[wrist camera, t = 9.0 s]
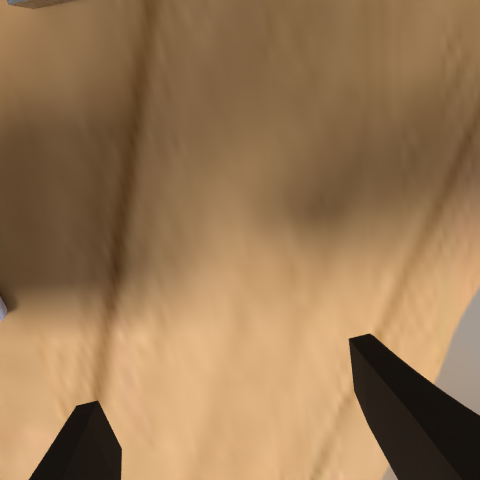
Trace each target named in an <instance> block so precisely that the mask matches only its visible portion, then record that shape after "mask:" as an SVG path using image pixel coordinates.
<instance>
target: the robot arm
mask: <svg viewBox="0 0 480 480" xmlns="http://www.w3.org/2000/svg"><path fill="white" fill-rule="evenodd" d="M6 314H7V308H6V306H5V304H4V302H3V300H2V298H1V297H0V321H2V320H3V319H4V318H5V316H6ZM349 345H350V355H351V364H352V374H353V383H354V391H355V394H356V396H357V399H358V401H359V404H360V406H361V409H362V411H363V413H364V416H365V418H366V421H367V423H368V425H369V427H370V429H371V431H372V433H373V435H374V436H375V438H376V440H377V442H378V444H379V446H380V447H381V449H382V451H383V453H384V455H385V457H386V458H387V460H388V462H389V464H390V466H391V468H392V469H393V471H394V473H395V475H396V476H397V478H398V480H480V415H478V414H476V413H475V412H473V411H472V410H470V409H469V408H467V407H465V406H464V405H462V404H461V403H459V402H458V401H457V400H455V399H454V398H452V397H451V396H449V395H448V394H446V393H445V392H443V391H442V390H441V389H439V388H438V387H436V386H435V385H434V384H432V383H431V382H430V381H428V380H427V379H426V378H424V377H423V376H422V375H420V374H419V373H418V372H416V371H415V370H414V369H413V368H411V367H410V366H409V365H408V364H406V363H405V362H404V361H403V360H401V359H400V358H399V357H398V356H396V355H395V354H394V353H393V352H392V351H390V350H389V349H388V348H387V347H386V346H385V345H383V344H382V343H381V342H380V341H379V340H378V339H377V338H375V337H374V336H373V335H371V334H366V335H362V336H358V337H354V338H350V339H349ZM121 461H122V449H121V446H120V444H119V442H118V440H117V438H116V436H115V434H114V432H113V430H112V428H111V426H110V424H109V422H108V420H107V418H106V416H105V414H104V412H103V410H102V408H101V405H100V403H99V401H94V402H90V403H86V404H82V405H78V406H76V408H75V409H74V411H73V412H72V414H71V415H70V417H69V418H68V420H67V421H66V423H65V424H64V426H63V428H62V429H61V431H60V432H59V434H58V435H57V437H56V439H55V440H54V442H53V443H52V445H51V446H50V448H49V450H48V451H47V453H46V454H45V456H44V457H43V459H42V460H41V462H40V463H39V465H38V466H37V468H36V469H35V471H34V472H33V474H32V476H31V477H30V479H29V480H121Z"/></svg>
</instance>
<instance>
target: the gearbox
mask: <svg viewBox="0 0 480 480" xmlns="http://www.w3.org/2000/svg"><path fill="white" fill-rule="evenodd" d="M67 1H71V0H7V2H8V5H13V6H19V7H25V8H31V9H35V8H39V7H44V6H48V5H53V4H58V3H62V2H67Z"/></svg>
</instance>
